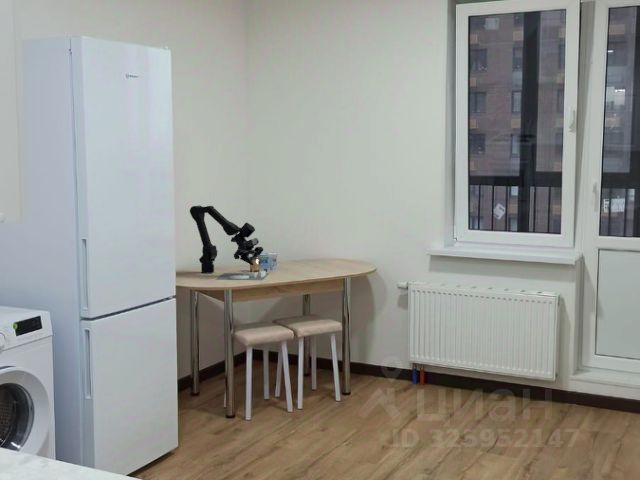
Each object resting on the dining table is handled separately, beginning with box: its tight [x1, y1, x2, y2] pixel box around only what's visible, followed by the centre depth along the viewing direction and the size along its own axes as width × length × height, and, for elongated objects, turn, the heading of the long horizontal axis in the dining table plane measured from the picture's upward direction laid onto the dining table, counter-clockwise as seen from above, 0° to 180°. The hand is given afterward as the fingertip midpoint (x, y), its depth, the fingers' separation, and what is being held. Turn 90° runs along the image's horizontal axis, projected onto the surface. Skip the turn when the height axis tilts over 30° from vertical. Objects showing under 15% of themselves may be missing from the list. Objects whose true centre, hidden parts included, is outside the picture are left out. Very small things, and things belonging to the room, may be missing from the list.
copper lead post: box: [249, 256, 259, 273], centre depth 430 cm, size 5×5×10 cm
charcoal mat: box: [215, 272, 270, 281], centre depth 428 cm, size 26×24×1 cm
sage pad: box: [229, 275, 249, 281], centre depth 422 cm, size 11×11×1 cm
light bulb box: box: [259, 252, 278, 273], centre depth 448 cm, size 11×7×11 cm, turn 105°
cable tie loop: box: [243, 270, 267, 277], centre depth 430 cm, size 11×9×3 cm
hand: (256, 264), depth 429 cm, fingers closed on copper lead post, 5 cm apart
